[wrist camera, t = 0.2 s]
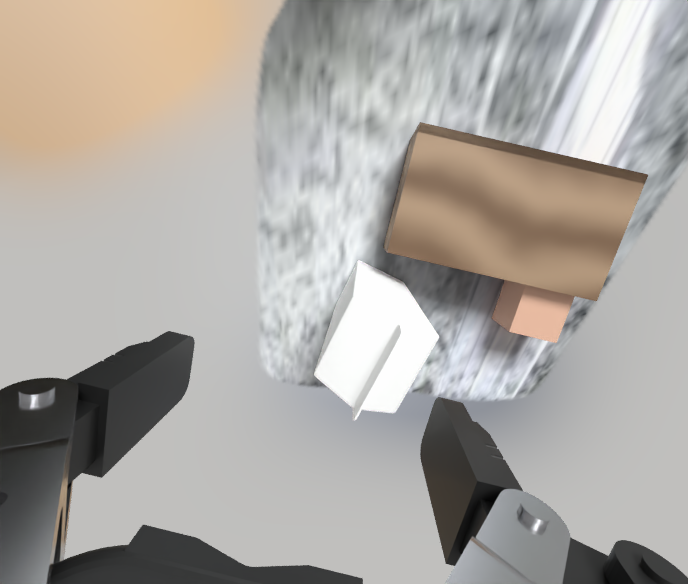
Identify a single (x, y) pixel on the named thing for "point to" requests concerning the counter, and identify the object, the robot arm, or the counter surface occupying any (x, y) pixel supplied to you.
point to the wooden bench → (511, 211)
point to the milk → (374, 342)
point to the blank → (532, 310)
